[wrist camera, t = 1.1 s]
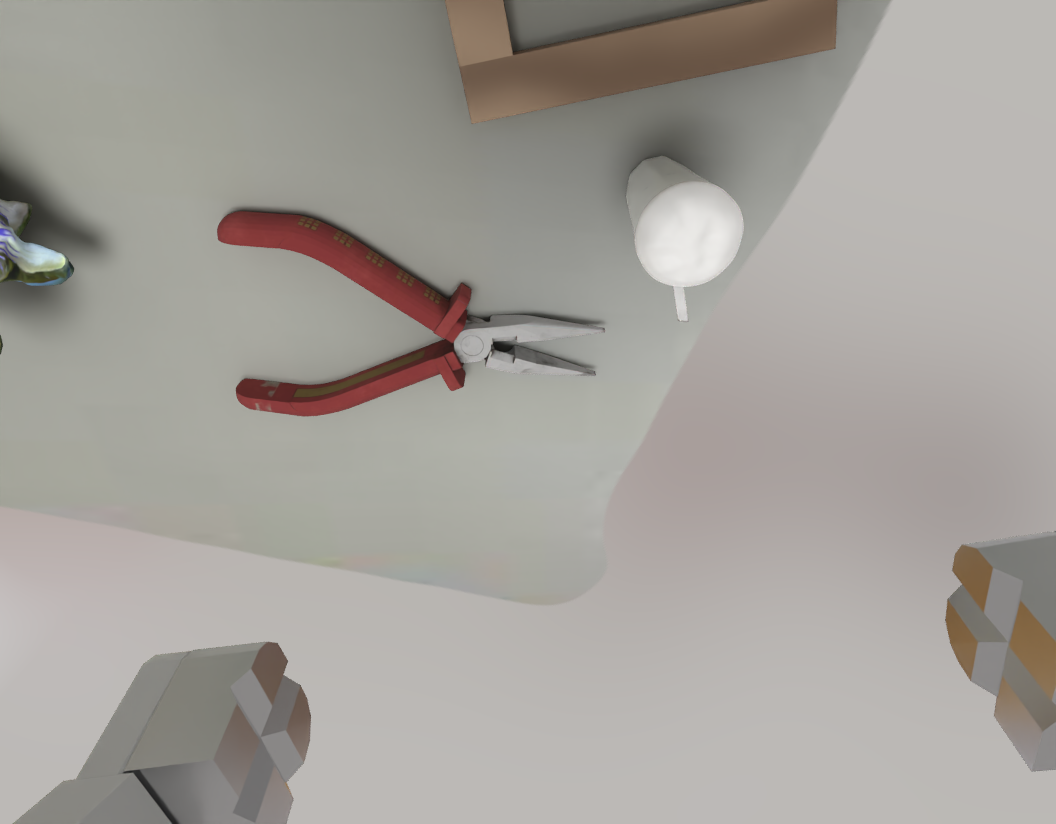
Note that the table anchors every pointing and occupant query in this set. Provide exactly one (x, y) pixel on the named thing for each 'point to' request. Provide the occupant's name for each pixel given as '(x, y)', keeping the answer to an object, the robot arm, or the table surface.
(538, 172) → the table surface
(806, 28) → the wooden frame
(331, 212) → the table surface
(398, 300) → the pliers
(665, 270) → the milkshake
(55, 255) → the passion flower
